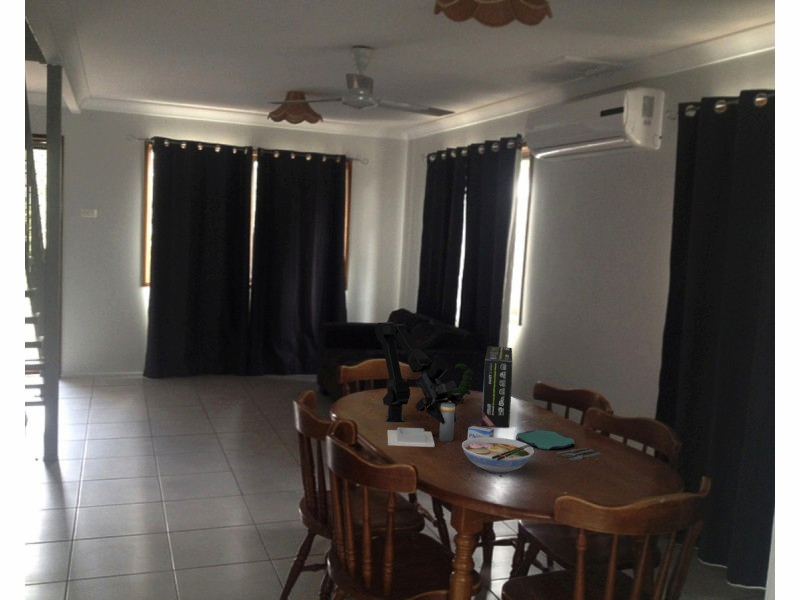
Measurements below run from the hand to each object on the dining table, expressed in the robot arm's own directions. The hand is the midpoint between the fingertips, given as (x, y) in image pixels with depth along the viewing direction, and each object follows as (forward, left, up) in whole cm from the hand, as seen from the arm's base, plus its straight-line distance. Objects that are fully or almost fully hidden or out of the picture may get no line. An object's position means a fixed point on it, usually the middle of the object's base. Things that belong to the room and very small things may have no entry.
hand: (449, 422), depth 258 cm
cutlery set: (+2, +38, -7) cm, 39 cm away
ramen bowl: (+31, +12, -7) cm, 34 cm away
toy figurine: (-58, +3, -7) cm, 59 cm away
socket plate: (+1, -14, -7) cm, 15 cm away
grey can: (-1, -1, -7) cm, 7 cm away
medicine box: (+14, +9, -7) cm, 18 cm away
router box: (-38, +23, -7) cm, 45 cm away
